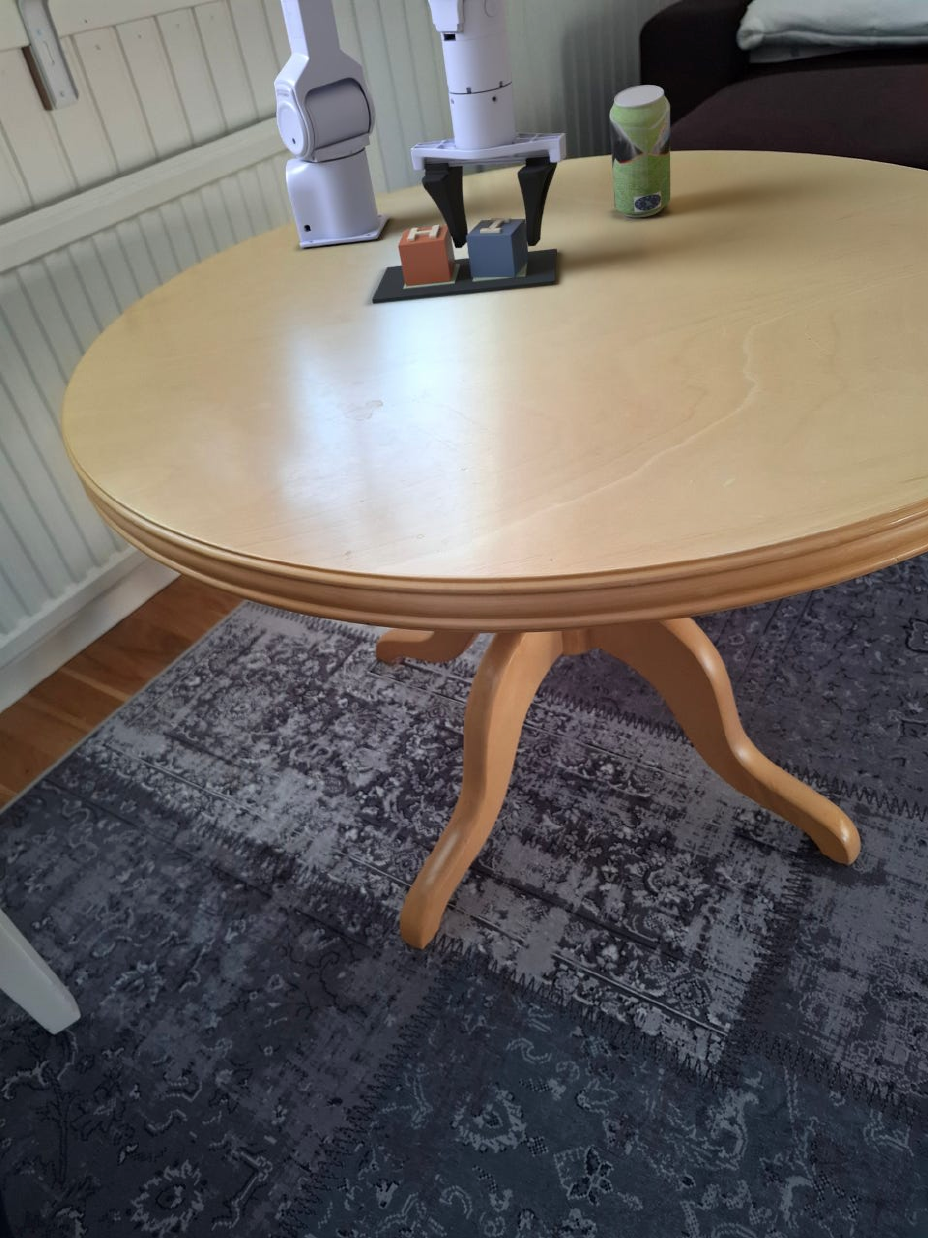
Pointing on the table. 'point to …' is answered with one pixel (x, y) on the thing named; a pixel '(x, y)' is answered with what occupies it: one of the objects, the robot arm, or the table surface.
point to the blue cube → (497, 247)
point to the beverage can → (640, 150)
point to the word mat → (469, 280)
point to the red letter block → (427, 255)
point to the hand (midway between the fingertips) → (497, 243)
